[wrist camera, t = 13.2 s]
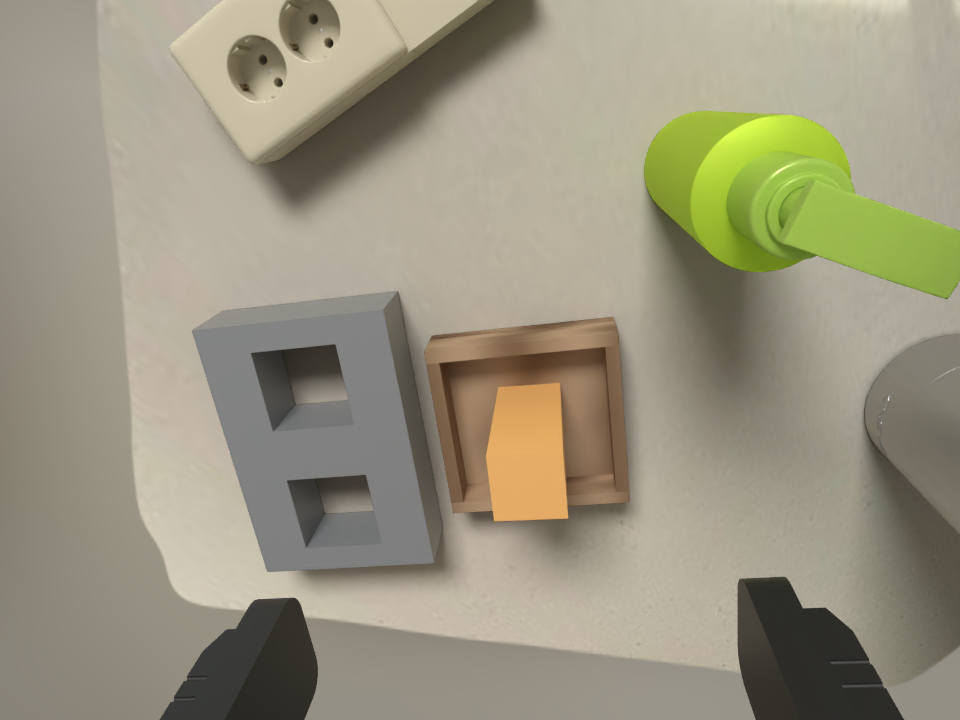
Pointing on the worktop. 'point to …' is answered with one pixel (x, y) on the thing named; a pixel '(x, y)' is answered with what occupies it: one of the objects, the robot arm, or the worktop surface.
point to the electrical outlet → (304, 61)
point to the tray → (532, 361)
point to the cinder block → (325, 432)
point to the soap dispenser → (788, 201)
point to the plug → (527, 454)
